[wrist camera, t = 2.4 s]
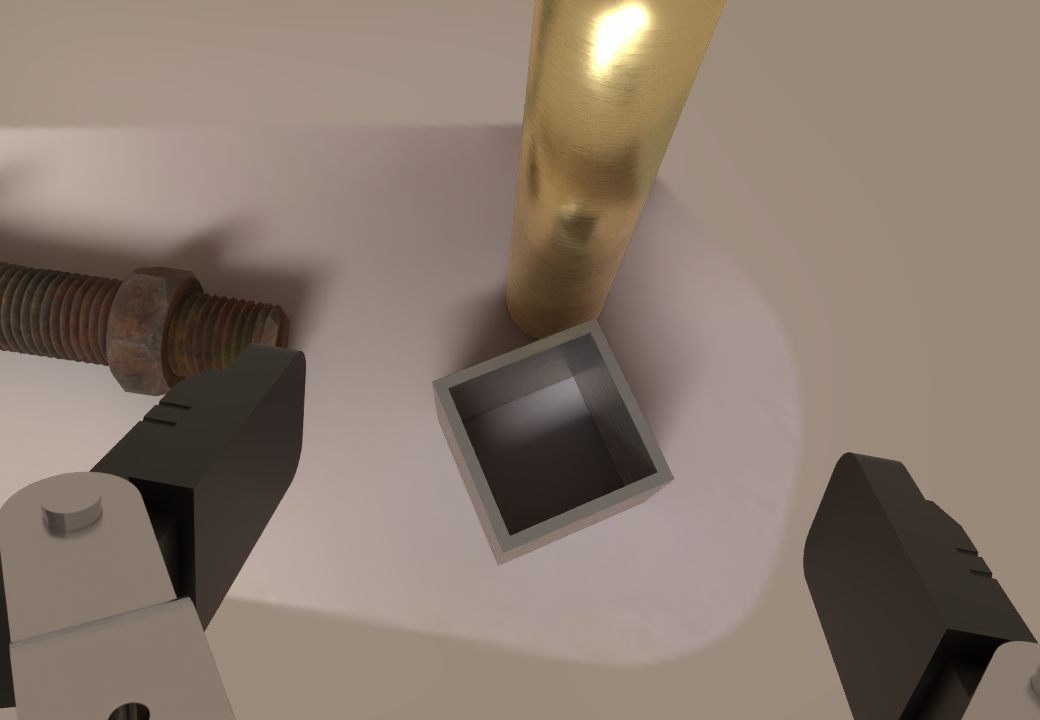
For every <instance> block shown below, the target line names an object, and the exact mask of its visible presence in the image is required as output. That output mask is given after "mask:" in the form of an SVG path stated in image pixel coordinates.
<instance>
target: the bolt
mask: <svg viewBox="0 0 1040 720" xmlns="http://www.w3.org/2000/svg"><path fill="white" fill-rule="evenodd" d="M288 331H289V318H288V316H287V315H286V313H285V312H284V311H283V309H282V308H281V306H280V305H276V306H275V307H274V308H273V306H272V304H270V303H268V304H266V305H264V304H263V303H261V302H260V303H258V304H257V305H256V304H255V303H254V301H249V302H248V303H247V302H246V301H245V300H243V299H242V300H240V301H239V302H238V301H237V299H235V298H232V299H230V300H228V298H227V297H221V298H219V297H218V296H216V295H214V296H212V297H210V296H209V294H204V291H203V289H202V286H201V284H200V282H199V281H198V280H197V278H196V277H195V276H194V274H193V273H192V272H191V271H184V270H178V269H171V268H164V267H149V268H139V269H137V270H134V271H133V272H131V273H130V274H129V275H128V276H127V277H126V278H125V280H124V281H120V282H119V281H118V280H116V279H112V280H110V279H108V278H99V277H96V276H94V277H91V276H88V275H80V274H77V273H75V274H72V273H69V272H65V273H64V272H61V271H53V270H44V269H35V268H27V267H25V266H18V265H16V264H8V263H3V262H0V350H2V351H11V352H19V353H25V354H30V355H38V356H47V357H49V358H52V357H55V358H57V359H65V360H75V361H76V362H81V361H83V362H85V363H94V364H98V365H99V364H102V365H104V366H109V367H110V370H111V372H112V374H113V376H114V377H115V379H116V380H117V381H118V383H119V384H120V385H121V387H122V388H123V389H124V391H125V392H131V393H138V394H145V395H152V396H159V395H163V394H167V393H168V392H169V391H170V390H171V389H172V388H173V387H174V386H175V385H176V384H177V383H178V382H180V381H182V380H184V379H186V378H188V377H190V376H193V375H195V374H197V373H199V372H201V371H204V370H206V369H208V368H212V369H217V370H223V371H225V370H226V369H227V368H228V367H229V366H230V365H231V363H232V362H233V361H234V360H235V359H236V358H237V357H238V356H239V355H240V354H241V352H242V351H243V350H244V349H245V348H246V347H247V346H248V345H249V344H250V343H259V344H264V345H270V346H275V347H281V348H286V349H287V344H288Z"/></svg>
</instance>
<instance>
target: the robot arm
mask: <svg viewBox="0 0 1040 720" xmlns="http://www.w3.org/2000/svg"><path fill="white" fill-rule="evenodd" d="M305 377H306V360H305V355H304V353H303V352H302V351H297V350H292V349H286V348H281V347H275V346H270V345H264V344H259V343H250V344H249V345H248V346H247V347H246V348H245V349H244V350H243V351H242V352H241V354H240V355H239V356H238V357H237V358H236V359H235V360H234V361H233V362H232V363H231V365H230V366H229V367H228V368H227V369H226V370H225V371H223V370H217V369H212V368H208V369H206V370H204V371H201V372H199V373H197V374H195V375H193V376H190V377H188V378H186V379H184V380H182V381H180V382H178V383H177V384H176V385H175V386H174V387H173V388H172V389H171V390H170V391H169V392H168V393H167V394H166V395H165V396H164V397H163V398H162V399H161V400H160V401H159V405H155V406H154V407H153V408H152V409H151V410H150V411H149V412H148V413H147V414H146V415H145V416H144V419H143V421H139V422H138V423H137V424H136V425H135V426H134V427H133V428H132V429H131V430H130V431H129V432H128V433H127V434H126V435H125V436H124V437H123V438H122V439H121V440H120V441H119V442H118V443H117V444H116V445H115V446H114V447H113V448H112V449H111V450H110V451H109V452H108V453H107V454H106V455H105V456H104V457H103V458H102V459H101V460H100V461H99V462H98V463H97V464H96V465H95V466H94V467H93V468H92V469H91V470H90V471H89V472H75V473H67V474H61V475H57V476H52V477H49V478H46V479H43V480H40V481H37V482H35V483H33V484H30V485H28V486H26V487H25V488H23V489H21V490H19V491H18V492H17V493H15V494H14V495H13V496H11V497H10V498H9V499H8V500H7V501H6V502H5V503H4V505H3V506H2V508H1V509H0V708H8V707H16V709H17V719H18V720H236V719H235V716H234V713H233V710H232V708H231V705H230V702H229V700H228V697H227V694H226V691H225V688H224V686H223V683H222V680H221V677H220V675H219V672H218V669H217V666H216V664H215V661H214V658H213V655H212V653H211V650H210V647H209V644H208V642H207V639H206V636H205V633H204V632H205V630H206V628H207V626H208V625H209V623H210V621H211V619H212V618H213V616H214V614H215V613H216V611H217V609H218V608H219V606H220V604H221V602H222V601H223V599H224V597H225V596H226V594H227V592H228V590H229V589H230V587H231V585H232V584H233V582H234V580H235V578H236V577H237V575H238V573H239V572H240V570H241V568H242V566H243V565H244V563H245V561H246V560H247V558H248V556H249V554H250V553H251V551H252V549H253V548H254V546H255V544H256V542H257V541H258V539H259V537H260V536H261V534H262V532H263V530H264V529H265V527H266V525H267V524H268V522H269V520H270V518H271V517H272V515H273V513H274V512H275V510H276V508H277V506H278V505H279V503H280V501H281V500H282V498H283V496H284V495H285V493H286V491H287V489H288V488H289V486H290V484H291V482H292V480H293V478H294V476H295V473H296V470H297V467H298V463H299V459H300V454H301V448H302V438H303V418H304V397H305ZM803 561H804V562H803V566H804V575H805V579H806V581H807V584H808V588H809V590H810V593H811V596H812V599H813V602H814V605H815V608H816V611H817V614H818V616H819V619H820V622H821V625H822V628H823V631H824V634H825V637H826V640H827V643H828V645H829V648H830V651H831V654H832V657H833V660H834V663H835V666H836V669H837V672H838V674H839V677H840V680H841V683H842V686H843V689H844V692H845V695H846V697H847V700H848V703H849V706H850V709H851V712H852V715H853V718H854V720H1040V644H1038V642H1037V641H1036V639H1035V638H1034V636H1033V635H1032V633H1031V632H1030V630H1029V629H1028V627H1027V626H1026V624H1025V622H1024V621H1023V620H1022V618H1021V616H1020V615H1019V613H1018V612H1017V610H1016V609H1015V607H1014V606H1013V604H1012V603H1011V601H1010V600H1009V598H1008V597H1007V595H1006V594H1005V592H1004V590H1003V589H1002V588H1001V586H1000V584H999V583H998V581H997V580H996V579H993V578H992V572H991V571H990V569H989V568H988V566H987V565H986V563H985V562H984V560H983V559H982V557H978V551H977V549H976V548H975V546H974V545H973V543H972V542H971V540H970V539H969V537H968V536H967V534H966V532H965V531H964V530H963V528H962V526H961V525H959V524H958V523H957V522H956V521H955V520H954V519H952V518H951V517H950V516H949V515H948V514H946V513H945V512H944V511H943V510H942V509H941V508H940V507H939V506H937V505H936V504H935V503H934V502H933V501H929V500H925V498H924V497H923V495H922V493H921V492H920V490H919V488H918V487H917V485H916V484H915V482H914V480H913V479H912V477H911V476H910V474H909V472H908V471H907V469H906V468H905V466H904V465H903V464H902V463H901V462H899V461H894V460H889V459H883V458H878V457H872V456H867V455H861V454H855V453H850V452H849V453H845V454H844V455H843V456H842V457H841V458H840V459H839V461H838V462H837V464H836V466H835V468H834V471H833V473H832V476H831V479H830V481H829V483H828V486H827V488H826V491H825V493H824V496H823V498H822V501H821V503H820V506H819V508H818V511H817V513H816V516H815V518H814V521H813V523H812V525H811V528H810V530H809V533H808V536H807V539H806V543H805V548H804V558H803Z"/></svg>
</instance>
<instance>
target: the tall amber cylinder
mask: <svg viewBox="0 0 1040 720" xmlns="http://www.w3.org/2000/svg"><path fill="white" fill-rule="evenodd" d="M725 3H726V0H535V7H534V17H533V27H532V37H531V47H530V57H529V68H528V78H527V88H526V98H525V108H524V118H523V128H522V138H521V148H520V158H519V168H518V178H517V188H516V198H515V209H514V219H513V229H512V239H511V249H510V259H509V269H508V279H507V289H506V303H507V307H508V310H509V313H510V315H511V317H512V319H513V320H514V322H515V323H516V325H517V326H518V327H519V328H520V329H521V330H523V331H524V332H525V333H526V334H528V335H530V336H531V337H533V338H536V339H538V340H541V339H544V338H546V337H549V336H551V335H554V334H556V333H559V332H562V331H564V330H567V329H569V328H572V327H574V326H577V325H580V324H582V323H585V322H587V321H590V320H592V319H595V318H596V319H597V320H598V318H599V316H600V313H601V311H602V308H603V306H604V303H605V301H606V298H607V296H608V294H609V291H610V289H611V286H612V284H613V281H614V279H615V276H616V274H617V271H618V269H619V266H620V264H621V261H622V259H623V256H624V254H625V251H626V249H627V246H628V244H629V241H630V239H631V236H632V234H633V231H634V229H635V226H636V224H637V221H638V219H639V216H640V214H641V212H642V209H643V207H644V204H645V202H646V199H647V197H648V194H649V192H650V189H651V187H652V184H653V182H654V179H655V177H656V174H657V172H658V169H659V167H660V164H661V162H662V159H663V157H664V154H665V152H666V149H667V147H668V144H669V142H670V139H671V137H672V134H673V132H674V130H675V127H676V125H677V122H678V119H679V117H680V115H681V112H682V109H683V107H684V104H685V102H686V100H687V97H688V95H689V92H690V90H691V87H692V85H693V82H694V80H695V77H696V75H697V72H698V70H699V67H700V65H701V62H702V60H703V57H704V55H705V53H706V50H707V47H708V45H709V43H710V40H711V37H712V35H713V33H714V30H715V28H716V25H717V23H718V20H719V18H720V15H721V13H722V10H723V8H724V5H725Z"/></svg>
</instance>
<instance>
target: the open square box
mask: <svg viewBox="0 0 1040 720" xmlns="http://www.w3.org/2000/svg"><path fill="white" fill-rule="evenodd" d="M572 376H573V377H574V379H575V381H576V383H577V385H578V387H579V389H580V392H581V394H582V396H583V398H584V400H585V402H586V404H587V407H588V409H589V411H590V413H591V415H592V417H593V419H594V422H595V424H596V426H597V428H598V430H599V432H600V434H601V437H602V439H603V441H604V443H605V445H606V447H607V449H608V452H609V454H610V456H611V458H612V460H613V462H614V464H615V467H616V469H617V471H618V473H619V475H620V477H621V479H622V481H623V484H624V486H625V487H623V488H620V489H618V490H616V491H613V492H611V493H609V494H606V495H604V496H602V497H599V498H597V499H595V500H592V501H590V502H588V503H585V504H583V505H581V506H579V507H576V508H574V509H572V510H569V511H567V512H565V513H562V514H560V515H558V516H555V517H553V518H551V519H548V520H546V521H544V522H541V523H539V524H537V525H534V526H532V527H530V528H528V529H525V530H523V531H521V532H518V533H516V534H514V535H511V536H510V535H509V533H508V531H507V528H506V526H505V523H504V521H503V519H502V516H501V514H500V511H499V509H498V507H497V504H496V502H495V499H494V497H493V495H492V492H491V490H490V487H489V485H488V483H487V480H486V478H485V476H484V473H483V471H482V468H481V466H480V464H479V461H478V459H477V456H476V454H475V452H474V449H473V447H472V444H471V442H470V440H469V437H468V435H467V432H466V430H465V428H464V425H463V423H462V420H465V419H467V418H470V417H472V416H475V415H477V414H480V413H482V412H485V411H487V410H490V409H492V408H495V407H497V406H500V405H502V404H505V403H507V402H510V401H512V400H515V399H517V398H520V397H522V396H525V395H527V394H530V393H532V392H535V391H537V390H540V389H542V388H545V387H547V386H550V385H552V384H555V383H557V382H560V381H562V380H565V379H567V378H570V377H572ZM432 384H433V390H434V396H435V402H436V408H437V415H438V420H439V422H440V425H441V427H442V430H443V432H444V435H445V437H446V439H447V442H448V444H449V447H450V449H451V452H452V454H453V457H454V459H455V461H456V464H457V466H458V469H459V471H460V474H461V476H462V479H463V481H464V483H465V486H466V488H467V491H468V493H469V496H470V498H471V500H472V503H473V505H474V508H475V510H476V513H477V515H478V518H479V520H480V522H481V525H482V527H483V530H484V532H485V535H486V537H487V540H488V542H489V544H490V547H491V549H492V552H493V554H494V557H495V559H496V562H497V564H498V566H499V565H501V564H503V563H506V562H508V561H510V560H512V559H515V558H517V557H519V556H522V555H524V554H526V553H528V552H531V551H533V550H535V549H538V548H540V547H542V546H544V545H547V544H549V543H551V542H554V541H556V540H558V539H560V538H563V537H565V536H567V535H570V534H572V533H574V532H576V531H579V530H581V529H583V528H586V527H588V526H590V525H593V524H595V523H597V522H599V521H602V520H604V519H606V518H609V517H611V516H613V515H615V514H618V513H620V512H622V511H625V510H627V509H629V508H631V507H634V506H636V505H638V504H641V503H643V502H644V501H646V500H647V499H648V498H650V497H651V496H652V495H654V494H655V493H656V492H658V491H659V490H660V489H662V488H663V487H664V486H666V485H667V484H668V483H670V482H671V481H672V480H674V477H673V475H672V473H671V471H670V469H669V467H668V465H667V463H666V461H665V459H664V457H663V455H662V452H661V450H660V448H659V446H658V444H657V442H656V440H655V438H654V436H653V434H652V432H651V430H650V428H649V426H648V424H647V422H646V420H645V417H644V415H643V413H642V411H641V409H640V407H639V405H638V403H637V401H636V399H635V397H634V395H633V393H632V391H631V389H630V387H629V385H628V383H627V380H626V378H625V376H624V374H623V372H622V370H621V368H620V366H619V364H618V362H617V360H616V358H615V356H614V354H613V352H612V350H611V348H610V346H609V343H608V341H607V339H606V337H605V335H604V333H603V331H602V329H601V327H600V325H599V323H598V321H597V319H596V318H595V319H592V320H590V321H587V322H585V323H582V324H580V325H577V326H574V327H572V328H569V329H567V330H564V331H562V332H559V333H556V334H554V335H551V336H549V337H546V338H544V339H541V340H538V341H536V342H533V343H531V344H528V345H526V346H523V347H520V348H518V349H515V350H513V351H510V352H508V353H505V354H502V355H500V356H497V357H495V358H492V359H490V360H487V361H484V362H482V363H479V364H477V365H474V366H472V367H469V368H466V369H464V370H461V371H459V372H456V373H454V374H451V375H448V376H446V377H443V378H441V379H438V380H436V381H433V382H432Z"/></svg>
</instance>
